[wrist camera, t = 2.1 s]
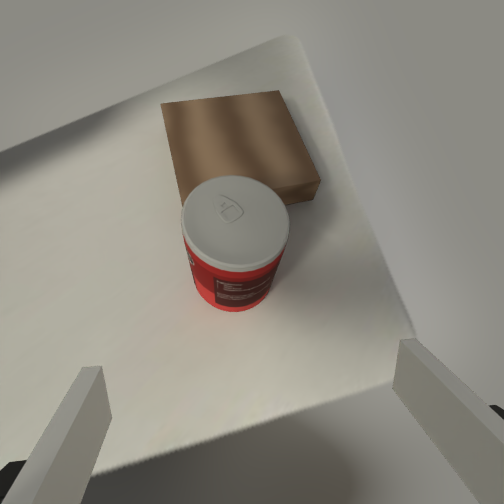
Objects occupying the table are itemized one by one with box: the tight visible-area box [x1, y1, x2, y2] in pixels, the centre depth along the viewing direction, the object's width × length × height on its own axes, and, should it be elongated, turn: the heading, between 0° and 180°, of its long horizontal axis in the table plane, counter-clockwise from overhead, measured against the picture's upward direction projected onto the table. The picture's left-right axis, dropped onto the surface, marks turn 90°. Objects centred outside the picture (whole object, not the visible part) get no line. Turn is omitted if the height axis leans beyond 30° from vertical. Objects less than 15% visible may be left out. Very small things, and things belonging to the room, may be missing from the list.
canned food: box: [181, 175, 290, 312], centre depth 27 cm, size 8×8×11 cm
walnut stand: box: [161, 90, 321, 206], centre depth 37 cm, size 15×15×4 cm
